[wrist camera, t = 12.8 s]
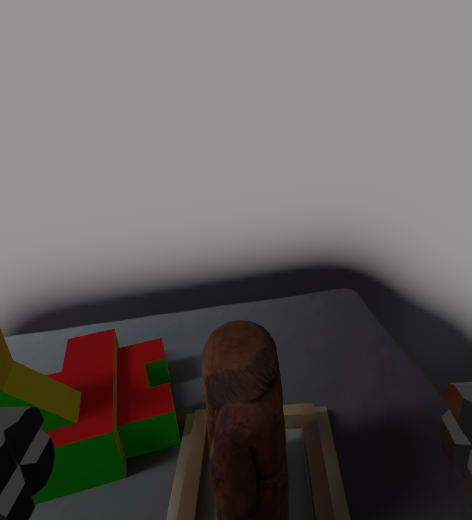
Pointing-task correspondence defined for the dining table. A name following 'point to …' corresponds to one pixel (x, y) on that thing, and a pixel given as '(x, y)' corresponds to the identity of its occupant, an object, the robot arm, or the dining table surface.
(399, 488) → the dining table surface
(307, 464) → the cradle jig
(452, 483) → the dining table surface
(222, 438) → the wooden figurine
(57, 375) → the building blocks toy
